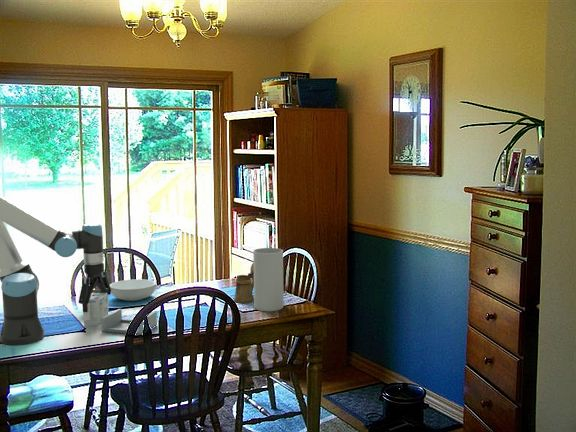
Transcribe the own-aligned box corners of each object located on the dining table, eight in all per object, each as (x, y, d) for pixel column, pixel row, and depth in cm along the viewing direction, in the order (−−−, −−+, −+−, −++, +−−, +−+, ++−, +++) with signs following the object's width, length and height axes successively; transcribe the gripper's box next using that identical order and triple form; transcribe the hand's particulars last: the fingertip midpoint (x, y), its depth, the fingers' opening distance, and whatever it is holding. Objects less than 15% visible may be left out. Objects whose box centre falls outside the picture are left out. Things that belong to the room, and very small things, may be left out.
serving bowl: (166, 296, 306) (165, 281, 305) (134, 306, 288) (133, 291, 288) (132, 291, 317) (132, 276, 316) (99, 300, 299) (99, 285, 298)
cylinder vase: (288, 309, 283) (288, 251, 279) (263, 313, 276) (262, 254, 273) (274, 302, 293) (273, 246, 290) (249, 307, 287) (248, 249, 283)
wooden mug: (266, 299, 299) (265, 260, 296) (240, 304, 291) (239, 263, 289) (255, 295, 306) (255, 257, 304) (230, 300, 298) (229, 260, 296)
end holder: (141, 336, 247) (140, 320, 247) (101, 332, 252) (101, 317, 251) (157, 326, 260) (156, 311, 259) (119, 323, 264) (118, 308, 263)
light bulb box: (92, 318, 272) (91, 292, 270) (109, 318, 271) (107, 292, 270) (83, 325, 261) (82, 299, 260) (100, 325, 261) (99, 299, 259)
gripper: (84, 269, 250) (87, 324, 253) (118, 257, 274) (120, 307, 277) (67, 268, 252) (70, 323, 255) (102, 256, 276) (104, 306, 279)
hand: (96, 315), depth 266 cm, fingers open, 13 cm apart
